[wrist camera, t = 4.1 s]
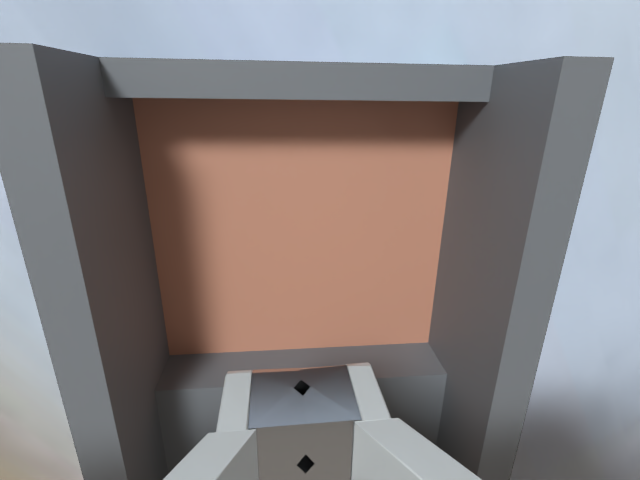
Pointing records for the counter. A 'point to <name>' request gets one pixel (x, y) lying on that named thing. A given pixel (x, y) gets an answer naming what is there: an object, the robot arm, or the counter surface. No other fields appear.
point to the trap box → (292, 235)
